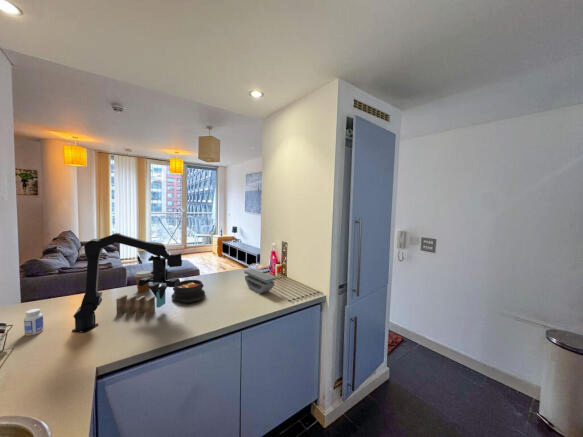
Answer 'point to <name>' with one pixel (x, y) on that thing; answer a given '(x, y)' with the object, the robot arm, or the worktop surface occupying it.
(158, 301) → the teal domino
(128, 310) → the domino
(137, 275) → the disposable coffee cup
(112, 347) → the worktop surface
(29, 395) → the worktop surface
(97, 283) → the robot arm
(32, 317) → the pill bottle
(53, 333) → the worktop surface
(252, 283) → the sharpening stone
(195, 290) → the casserole
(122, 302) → the domino
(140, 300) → the domino
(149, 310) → the domino
